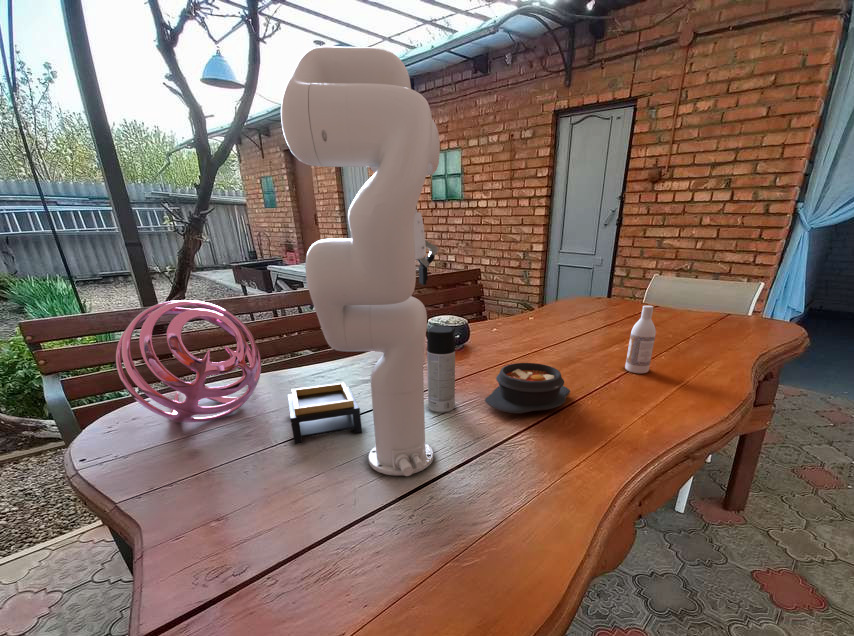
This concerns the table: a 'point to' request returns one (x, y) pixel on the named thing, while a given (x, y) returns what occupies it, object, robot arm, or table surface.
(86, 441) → the table surface
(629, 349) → the bath foam
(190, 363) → the pink lattice ball
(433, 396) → the spray can
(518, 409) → the casserole
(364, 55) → the robot arm
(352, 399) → the stand
